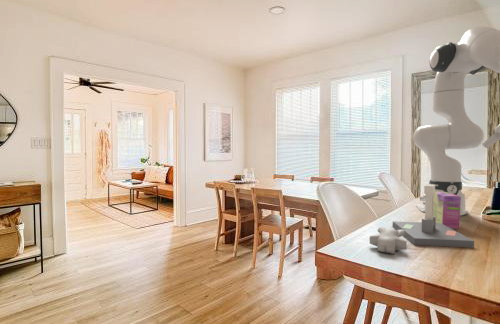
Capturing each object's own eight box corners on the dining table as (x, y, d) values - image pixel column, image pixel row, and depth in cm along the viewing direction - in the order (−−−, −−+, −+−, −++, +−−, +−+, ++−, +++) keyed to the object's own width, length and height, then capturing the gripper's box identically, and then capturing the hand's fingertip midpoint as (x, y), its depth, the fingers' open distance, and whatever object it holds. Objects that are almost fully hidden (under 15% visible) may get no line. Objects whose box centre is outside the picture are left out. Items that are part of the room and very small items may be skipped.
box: (460, 229, 103) (461, 196, 102) (442, 228, 104) (443, 195, 103) (446, 221, 113) (447, 191, 112) (430, 221, 114) (431, 191, 113)
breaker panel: (392, 226, 106) (392, 210, 105) (440, 228, 103) (440, 211, 103) (414, 244, 86) (414, 224, 86) (473, 247, 83) (474, 227, 83)
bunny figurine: (366, 238, 80) (375, 220, 93) (366, 255, 81) (375, 235, 93) (405, 244, 75) (409, 224, 88) (405, 262, 76) (408, 240, 88)
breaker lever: (435, 227, 95) (436, 184, 94) (433, 230, 92) (434, 186, 91) (424, 226, 97) (425, 184, 96) (422, 229, 94) (423, 185, 93)
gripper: (518, 106, 87) (476, 139, 94) (524, 97, 71) (473, 138, 78) (538, 120, 85) (493, 153, 91) (549, 114, 69) (494, 154, 75)
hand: (484, 146), depth 85 cm, fingers closed
